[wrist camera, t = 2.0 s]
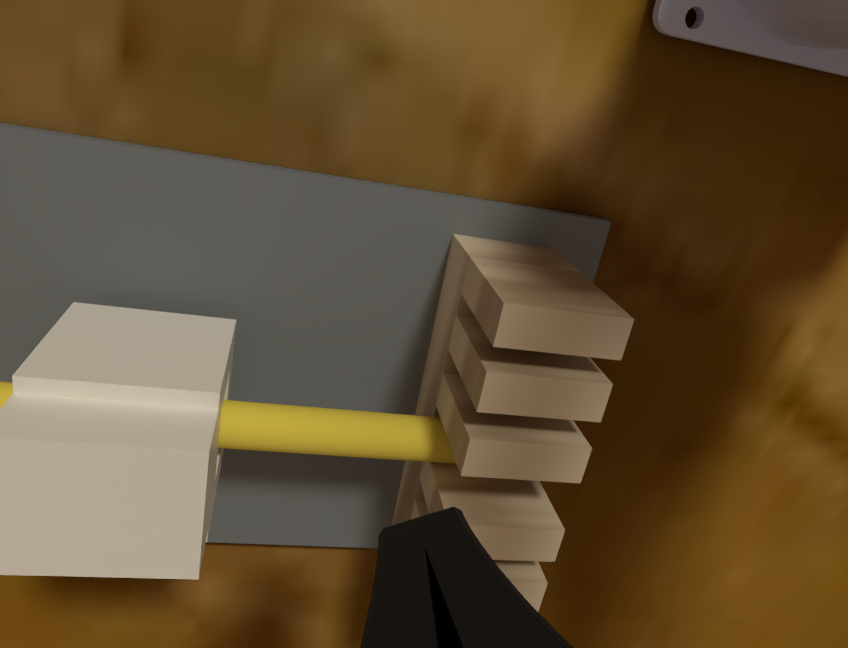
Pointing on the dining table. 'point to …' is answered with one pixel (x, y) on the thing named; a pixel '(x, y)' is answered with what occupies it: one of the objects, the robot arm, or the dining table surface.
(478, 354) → the cable comb
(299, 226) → the cable mat
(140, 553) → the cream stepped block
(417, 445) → the yellow rod
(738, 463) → the dining table surface
